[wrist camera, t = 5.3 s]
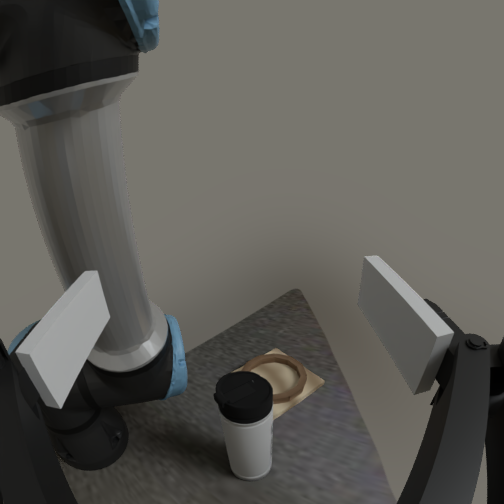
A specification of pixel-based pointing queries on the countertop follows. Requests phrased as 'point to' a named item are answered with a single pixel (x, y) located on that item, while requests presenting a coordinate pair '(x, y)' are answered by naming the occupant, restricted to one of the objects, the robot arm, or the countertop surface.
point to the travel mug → (246, 422)
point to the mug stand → (284, 379)
